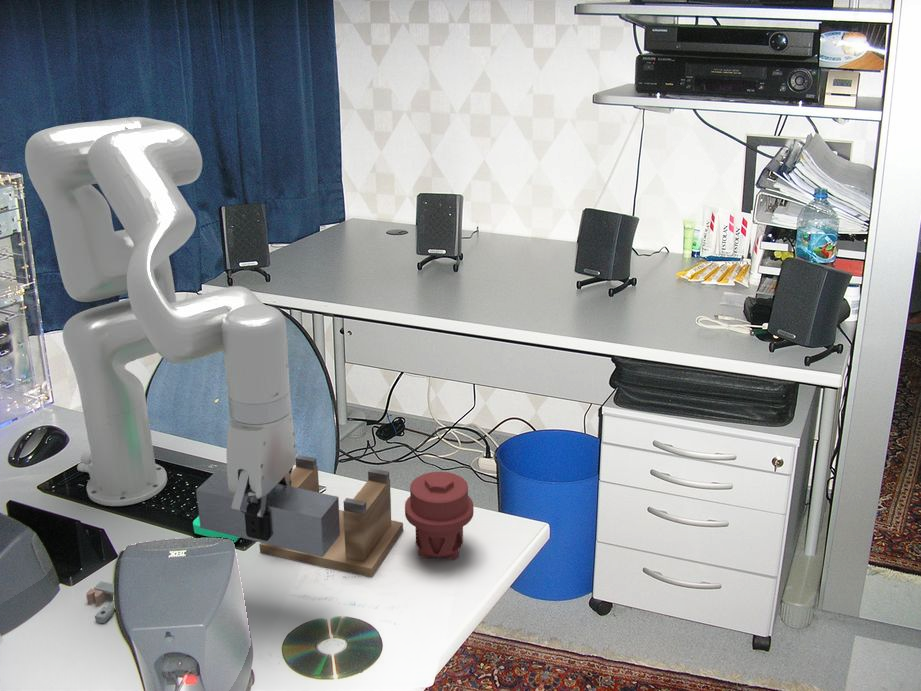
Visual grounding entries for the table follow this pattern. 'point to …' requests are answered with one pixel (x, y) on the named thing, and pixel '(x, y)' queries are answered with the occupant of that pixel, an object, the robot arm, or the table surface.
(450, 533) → the mechanical component
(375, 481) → the rack
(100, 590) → the clamp
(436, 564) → the table surface
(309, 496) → the matte grey brick
